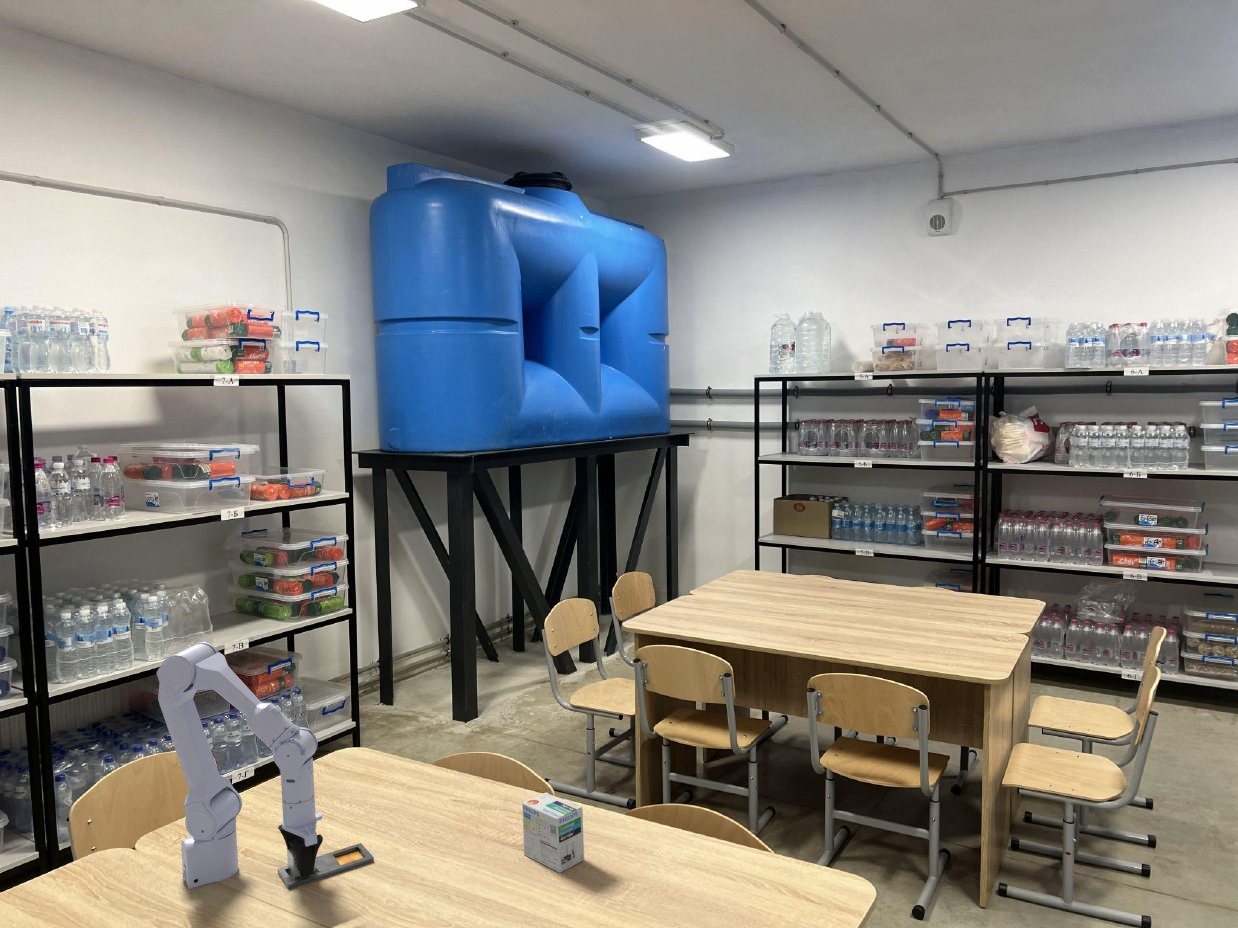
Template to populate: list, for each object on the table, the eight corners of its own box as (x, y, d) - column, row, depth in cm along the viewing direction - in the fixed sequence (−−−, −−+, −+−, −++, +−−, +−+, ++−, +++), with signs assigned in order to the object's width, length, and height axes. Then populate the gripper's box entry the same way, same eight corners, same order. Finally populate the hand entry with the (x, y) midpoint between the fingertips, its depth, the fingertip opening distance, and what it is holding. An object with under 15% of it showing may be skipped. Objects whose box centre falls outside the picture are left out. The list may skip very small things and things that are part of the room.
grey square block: (294, 882, 165) (293, 855, 165) (288, 873, 168) (286, 846, 168) (316, 875, 167) (315, 848, 167) (309, 866, 171) (308, 840, 170)
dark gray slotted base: (288, 894, 163) (288, 884, 163) (278, 877, 169) (277, 868, 169) (374, 866, 172) (373, 856, 172) (361, 851, 178) (361, 842, 178)
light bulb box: (585, 860, 173) (584, 806, 172) (560, 874, 168) (558, 818, 167) (547, 842, 180) (546, 790, 179) (522, 855, 175) (520, 801, 175)
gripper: (332, 804, 163) (335, 876, 164) (308, 778, 175) (311, 845, 176) (292, 815, 159) (296, 889, 160) (270, 787, 171) (274, 856, 172)
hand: (301, 867), depth 168 cm, fingers open, 5 cm apart
